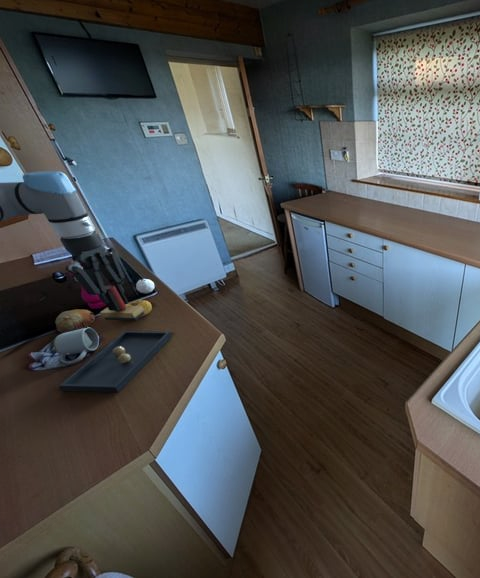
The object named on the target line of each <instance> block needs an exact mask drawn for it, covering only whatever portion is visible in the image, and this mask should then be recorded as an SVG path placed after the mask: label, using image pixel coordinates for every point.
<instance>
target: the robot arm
mask: <svg viewBox="0 0 480 578" xmlns="http://www.w3.org/2000/svg"><path fill="white" fill-rule="evenodd" d="M22 180H23V181H16V182H14V181H13V182H12V181H11V182H10V181H9V182H0V223H1V222H4V221H7V220H9V219H12V218H14V217H17V216H23V215H24V216H25V215H42V214H43V215H44V216H45V218H46V219H47V221H48V222H49V224H50V226H51V228H52V229H53V232H54V233H55V234H56V236H57V237H59V238H60V239H59V241H60V242H61V244H62V245H63V247H64V249H65V251H66V252H68V253H69V254H70V255H71V261H72V260H73V263H71V264H70V265H66V266H65V267H64V269H65V270H66V271H67V272H68V271H69V272H70V273H72V274H73V275H74V276H73V278H74V277H75V278H76V279H77V281H76V282H78V283H79V285H80V287H81V286H82V287H83V288H84V290H85V291H86V292H87V294H88V295H98V296H99V298H100V300H101V301H102V302H103V303H105V304H106V306H105V307H106V308H107V307H108V309H109V310H110V311H119V310H120V308H119V306H118V304H117V303H116V301H115V299H114V297H113V296H112V294H111V292H110V291H106V288H105V286H106V285H105V283H104V280H103V278H102V275H103V276H104V277H105V279H106V280H107V282H108V283H109V285H115V287H116V289H117V291H118V293H119V294H120V296H121V298H122V300H123V302H124V303H125V304H128V303H130V302H129V300H128V298H127V296H126V295H125V289H124V288H123V284H124V280H125V277H126V276H125V274H124V272H123V269H122V266H121V265H120V262H119V259H118V257H117V252H116V248H115V247H105V246H104V241H103V240H102V238H101V236H100V234H99V232H98V231H96V227H95V225H94V223H93V221H92V219H91V218H90V215H89V214H88V211H86V208H85V206H84V204H83V203H82V200H81V198H80V196H79V195H78V192H77V189H76V187H74V185H73V184H72V182H71V181H70V179H69V177H68V176H67V174H65V173H64V172H62V171H59V170H44V171H43V170H41V171H33V172H27V173H24V174H22ZM80 265H81V266H82V267H81V266H80ZM82 269H83V270H82ZM69 272H68V273H69ZM100 272H101V273H102V275H101V274H100Z"/></svg>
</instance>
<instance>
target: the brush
mask: <svg viewBox="0 0 480 578" xmlns="http://www.w3.org/2000/svg"><path fill="white" fill-rule="evenodd" d="M104 286H105V288H106V291H110V292H111V294H112V296H113V297H114V299H115V301H116V303H117V304H118V306H119V308H120V310H119V311H110V310H109V309H108V307H107V306H106V308H104V309H103V310H101V311H100V312H99V314H100V316H101V317H102V318H104V320H105V321H128V322H129V321H133V322H134V321H135V322H136V321H138V320H139V319H140V318H142V317H141V316H142V315H144V312H143V311H144V309H143V307H142V306H126V305H125V303H124V302H123V300H122V298H121V296H120V294H119V293H118V291H117V289H116V287H115V285H112V284H107V285H104Z"/></svg>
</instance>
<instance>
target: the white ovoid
mask: <svg viewBox="0 0 480 578" xmlns="http://www.w3.org/2000/svg"><path fill="white" fill-rule="evenodd" d="M137 279H138V281H137V282H136V284H135V287H136V290H137V291H138V292H139V293H141V294H149V293H152V292H153V291H154V289H155V287H156V286H155V283H154V281H152V280H151V279H147V278H140V277H137Z"/></svg>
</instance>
